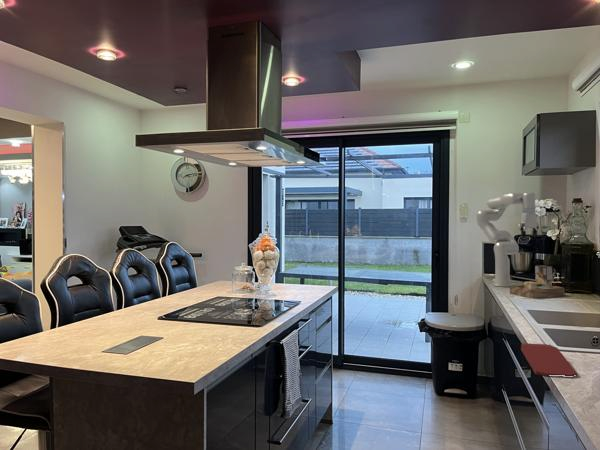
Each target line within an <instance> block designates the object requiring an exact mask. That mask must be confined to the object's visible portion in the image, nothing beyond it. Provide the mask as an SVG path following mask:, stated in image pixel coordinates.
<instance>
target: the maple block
mask: <svg viewBox="0 0 600 450" xmlns="http://www.w3.org/2000/svg"><path fill="white" fill-rule="evenodd" d="M523 285H524V288H527V289H537V282H535V281H524V284H523Z"/></svg>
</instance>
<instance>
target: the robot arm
mask: <svg viewBox="0 0 600 450" xmlns="http://www.w3.org/2000/svg"><path fill="white" fill-rule="evenodd" d="M486 205H487V208H489V209H482V210H479V211H478V212H477V213H476V215H475V216H476V217H475V219H476V223H477V226H479V227H480V229H481V230H482V231H483V232H484V234H485V236H486V237H487V238H488V240H489V241H490V243H492V244H494V246H493V253H494V261H495V264H494V265H495V267H494V268H495V269H494V271H495V272H494V273H495V277H494V278H493V279H492V282H493V283H492V285H493V286H496V287H501V288H502V287H504V288H505V287H509V288H510V286H513V284H512V283H510V282H511V278H510V276H511V275H510V274H511V273H510V271H511V270H510V269H511V267H510V265H511V263H510V262H511V261H510V258H509V256H508V255H516V254H517V253H518V252H519V250H520V249H519V248H520V247H519V244H518V243H517V241H516V240H515V238H514V237H513V235H512V234H511V233H510V232H509V231H508V230H498V229H497V228H496V226H495V225H494V224H493V223H492V222H495V221H496V222H497V221H499V220H500V219H501V217H502V216H503V214H504V212H505V211H506V209H507V208H508V207H509V206H510V205H522V213H521V217H520V223H518V224H517V226H518V228H519V231H520V237H521V238H526V233H527V231H526V229H532V231H531V232H532V234H531V236H532V237H534V238H535V237H536V238H537V237H538V230H539V227H540V226H541V225H540V223H538V220H537V213H536V194H535V192H511V193H505V194H503V195H500V196H497V197H496V196H494V197H492V198H490V199H488V200H487V202H486Z"/></svg>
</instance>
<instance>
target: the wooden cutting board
mask: <svg viewBox="0 0 600 450" xmlns="http://www.w3.org/2000/svg"><path fill="white" fill-rule="evenodd" d="M524 285H525V284H521V285H519V284H518V285H512V286H510V287H509V294H510V295H514V296H519V297H523V298H527V297H528V298H529V299H532V298H533V299H540V298H541V299H543V298H552V297H554V296H555V297H563V296H564V297H565V296H566V295H565V287H563V286H557V285H553V286H551V285H546V284H537V289H527V288H524Z"/></svg>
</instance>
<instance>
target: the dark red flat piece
mask: <svg viewBox="0 0 600 450" xmlns="http://www.w3.org/2000/svg"><path fill="white" fill-rule="evenodd" d="M520 351H521V352H522V354H523V356H524V357H525V359H526V361H527V362H528V364H529V366H530V367H531V369H532V371H533V372H534V374H535V375H539V376H543V377H550V376H549V375H565V376H574V375H577V376H578V372H576V369H574V368H573V366H572V365H571V364H570V363H569V361H568V360H567V358H566V357H565V356H564V355H563V353H562V352H561V351H560V349H559V348H558V347H556V346H554V345H552V344H547V343H546V344H544V343H528V342H527V343H526V342H524V343H523V342H522V343H521V345H520Z"/></svg>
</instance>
